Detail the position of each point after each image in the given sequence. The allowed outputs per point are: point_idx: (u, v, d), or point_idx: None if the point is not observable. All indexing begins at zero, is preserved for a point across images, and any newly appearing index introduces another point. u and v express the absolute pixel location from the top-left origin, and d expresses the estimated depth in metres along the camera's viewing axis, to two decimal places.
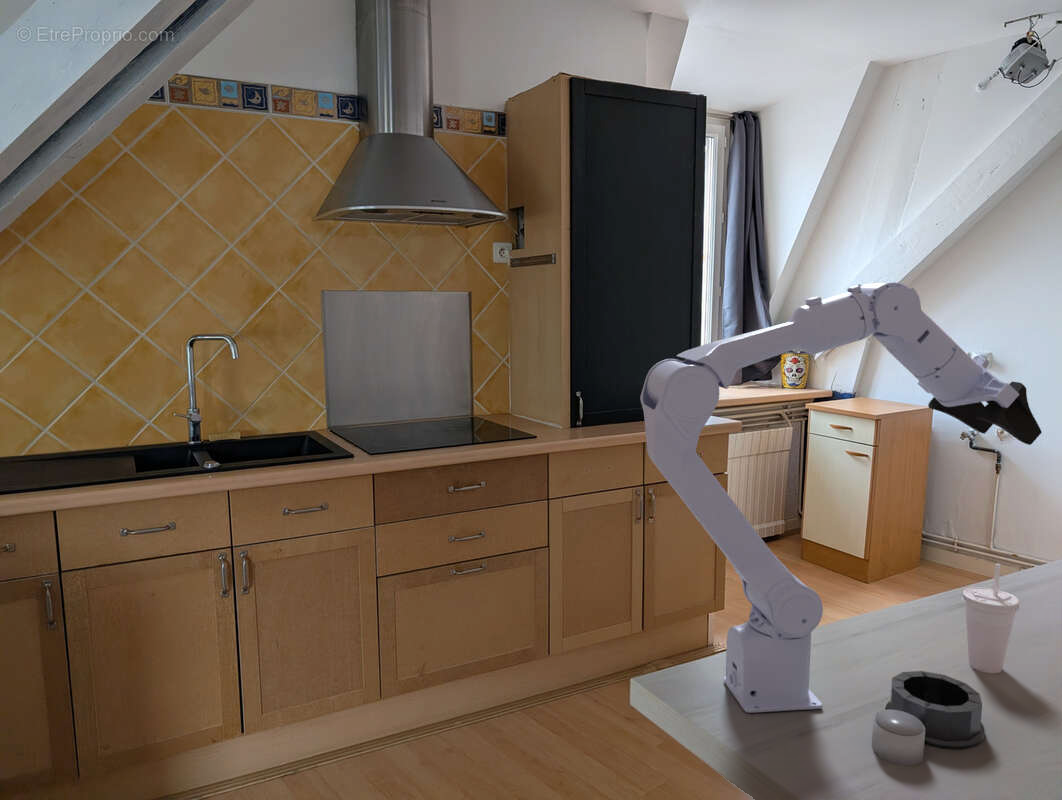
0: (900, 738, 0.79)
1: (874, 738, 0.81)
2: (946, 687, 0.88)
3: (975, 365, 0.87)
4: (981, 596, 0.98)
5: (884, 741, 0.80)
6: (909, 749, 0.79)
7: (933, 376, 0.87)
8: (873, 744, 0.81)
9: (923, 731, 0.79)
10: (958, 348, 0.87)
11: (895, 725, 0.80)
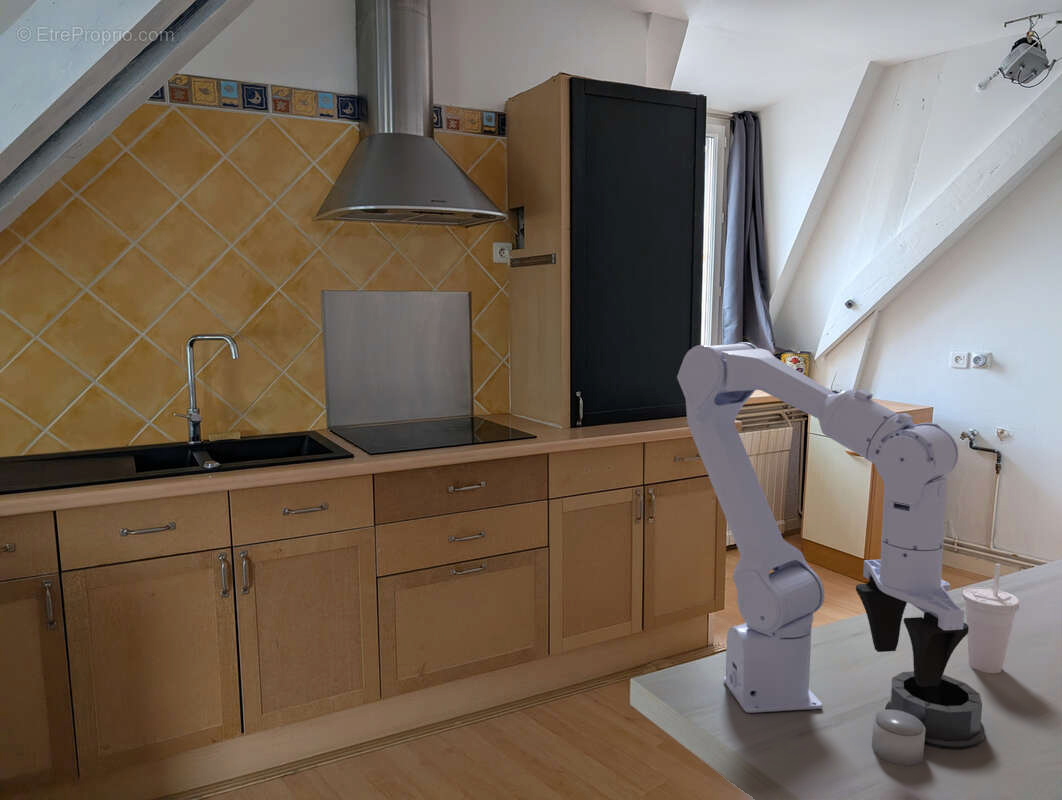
0: (900, 738, 0.79)
1: (874, 738, 0.81)
2: (946, 687, 0.88)
3: (940, 578, 0.77)
4: (981, 596, 0.98)
5: (884, 741, 0.80)
6: (909, 749, 0.79)
7: (902, 552, 0.76)
8: (873, 744, 0.81)
9: (923, 731, 0.79)
10: (942, 550, 0.77)
11: (895, 725, 0.80)
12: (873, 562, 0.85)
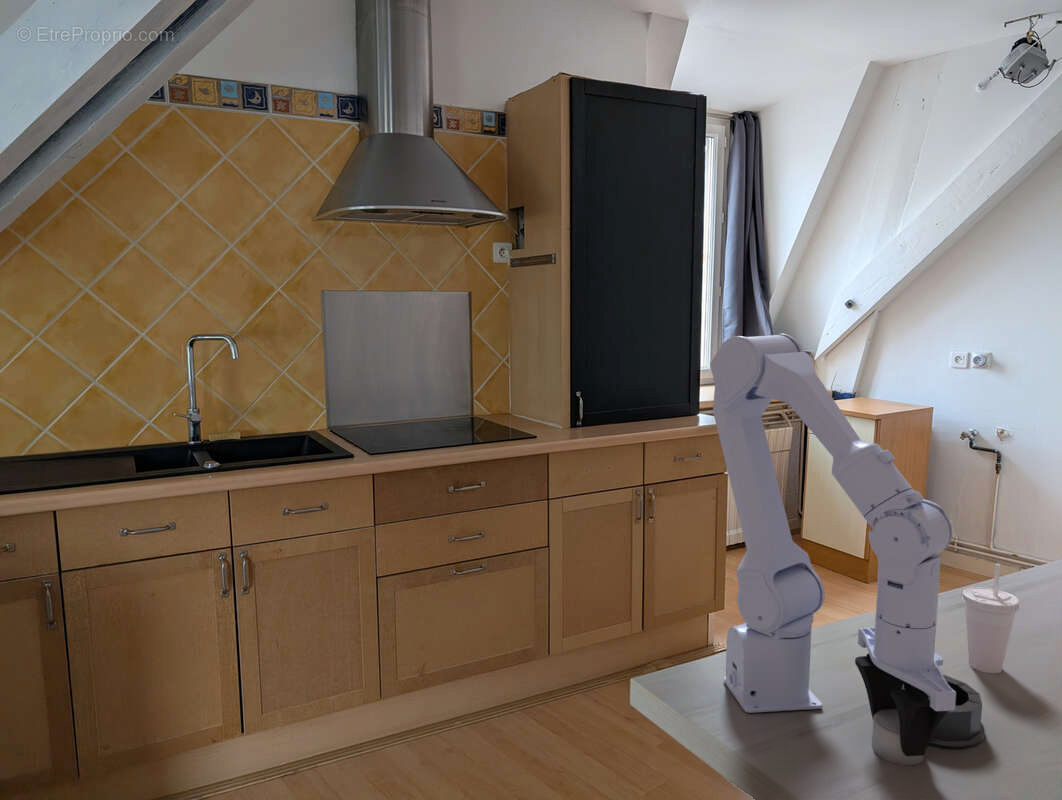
0: None
1: (874, 737, 0.81)
2: None
3: (933, 654, 0.78)
4: (981, 596, 0.98)
5: (884, 740, 0.80)
6: None
7: (895, 629, 0.77)
8: (873, 743, 0.81)
9: None
10: (935, 627, 0.78)
11: (895, 724, 0.80)
12: (868, 630, 0.86)
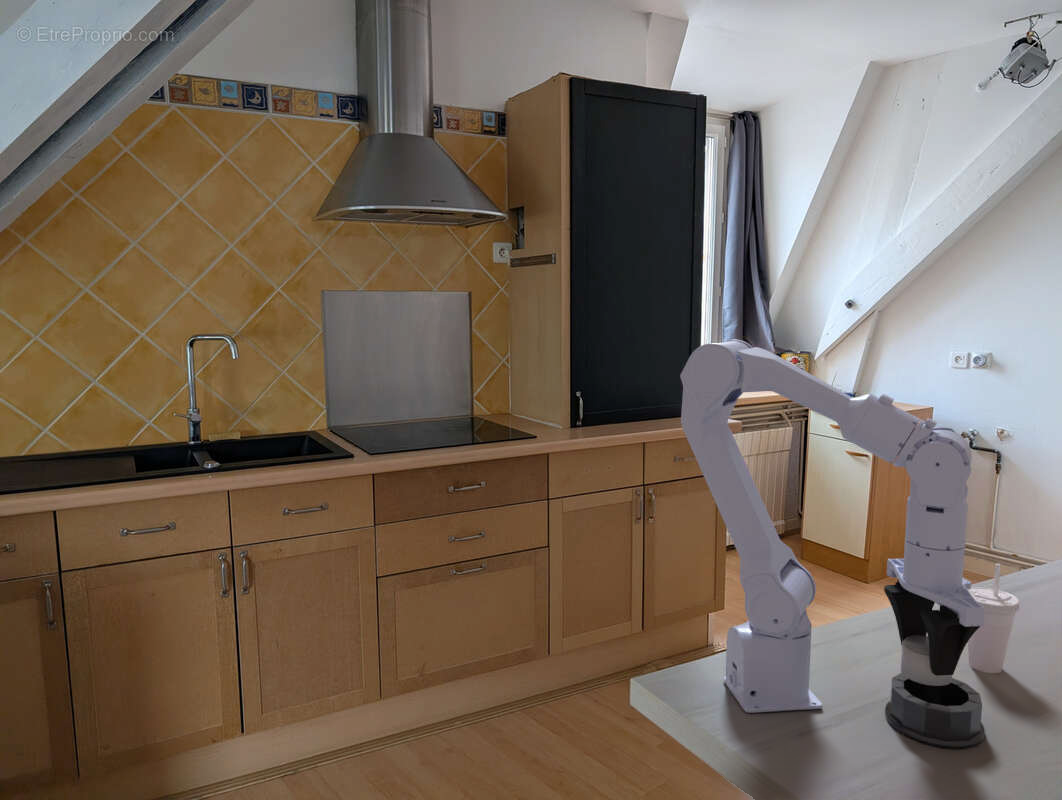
0: (929, 658, 0.81)
1: (903, 661, 0.83)
2: (946, 687, 0.88)
3: (962, 577, 0.80)
4: (981, 596, 0.98)
5: (914, 662, 0.82)
6: None
7: (925, 551, 0.80)
8: (902, 667, 0.84)
9: None
10: (964, 550, 0.80)
11: (924, 647, 0.82)
12: (896, 561, 0.89)
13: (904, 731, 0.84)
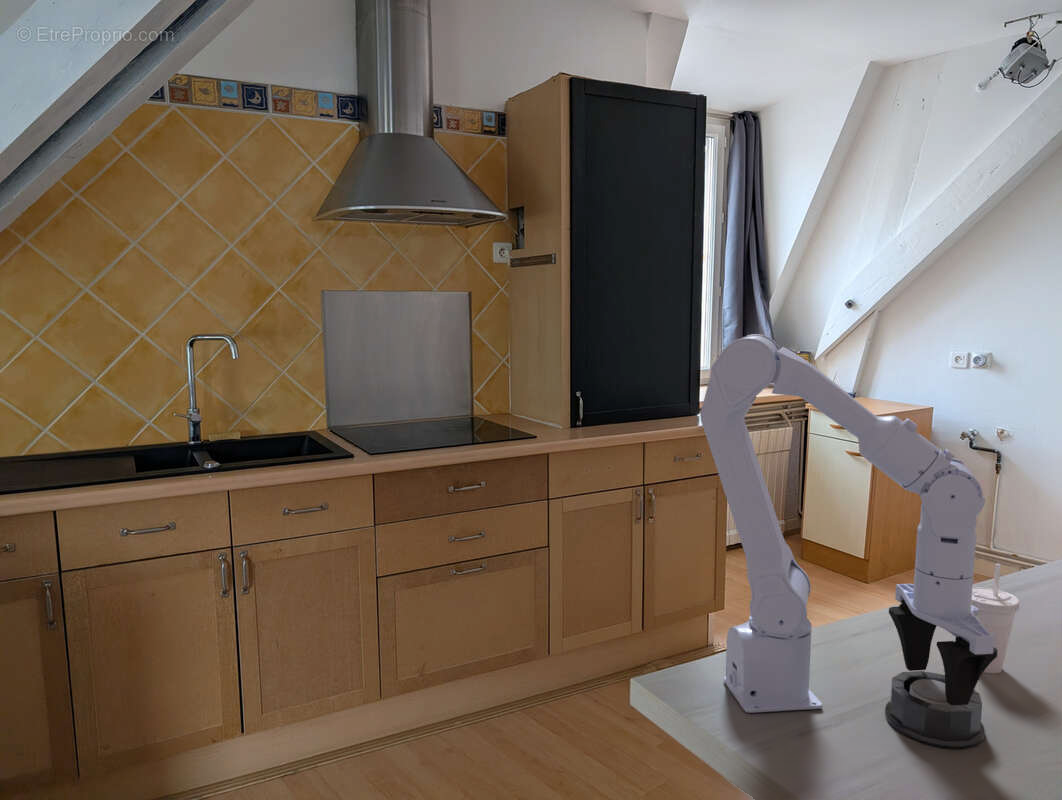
0: None
1: None
2: None
3: (970, 604, 0.82)
4: (981, 596, 0.98)
5: None
6: None
7: (935, 580, 0.82)
8: None
9: None
10: (972, 578, 0.82)
11: (932, 693, 0.85)
12: (905, 586, 0.91)
13: (904, 731, 0.84)
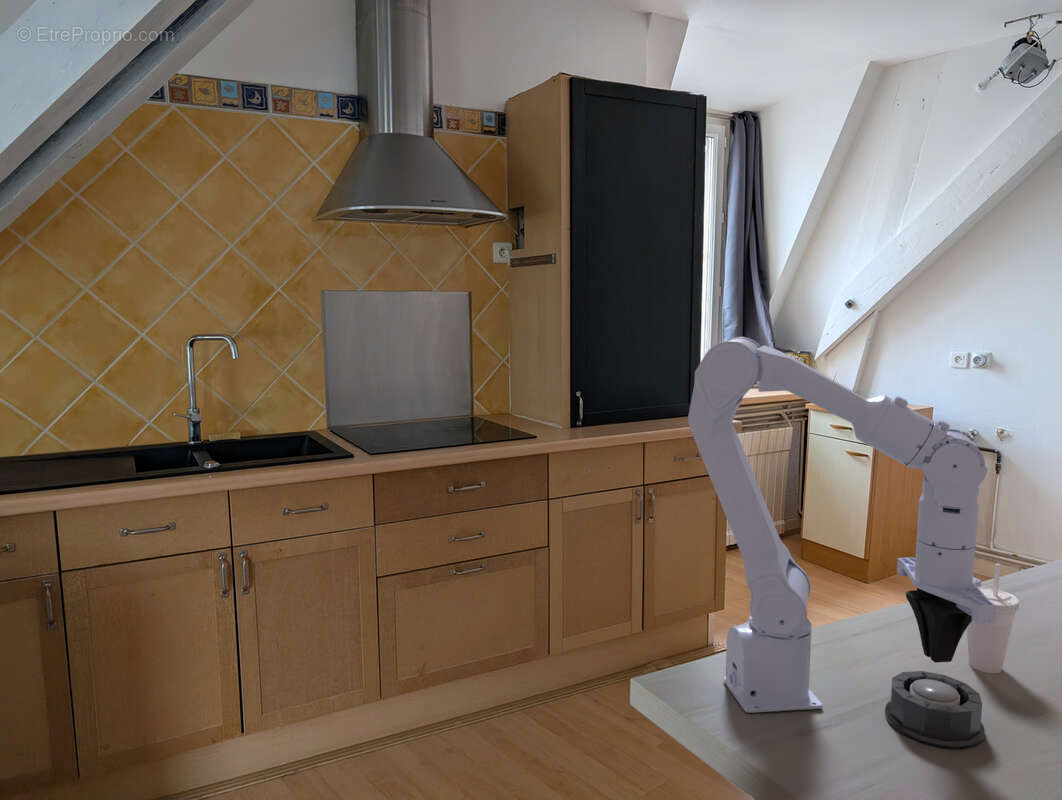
0: (937, 704, 0.84)
1: None
2: None
3: (972, 575, 0.82)
4: None
5: None
6: None
7: (937, 551, 0.81)
8: None
9: (958, 698, 0.84)
10: (974, 549, 0.82)
11: (932, 693, 0.85)
12: (906, 560, 0.91)
13: (904, 731, 0.84)
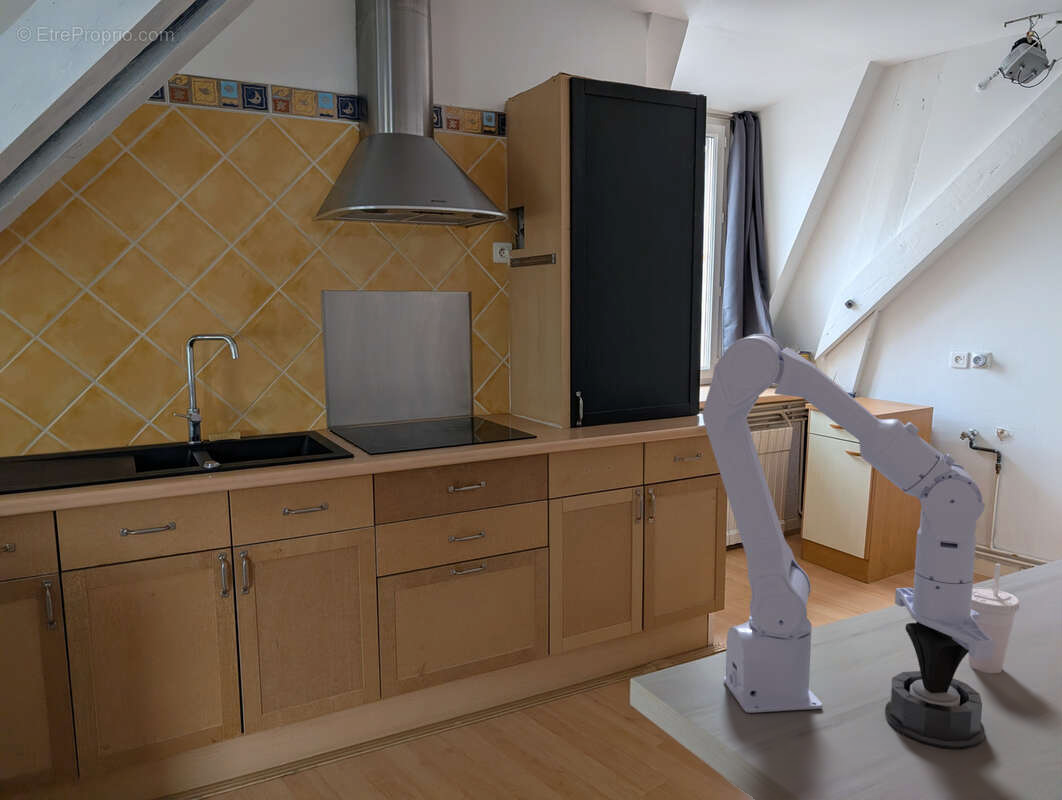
0: None
1: None
2: None
3: (970, 609, 0.83)
4: (981, 596, 0.98)
5: None
6: None
7: (935, 584, 0.82)
8: None
9: (958, 698, 0.84)
10: (972, 583, 0.82)
11: (932, 693, 0.85)
12: (904, 590, 0.91)
13: (904, 731, 0.84)
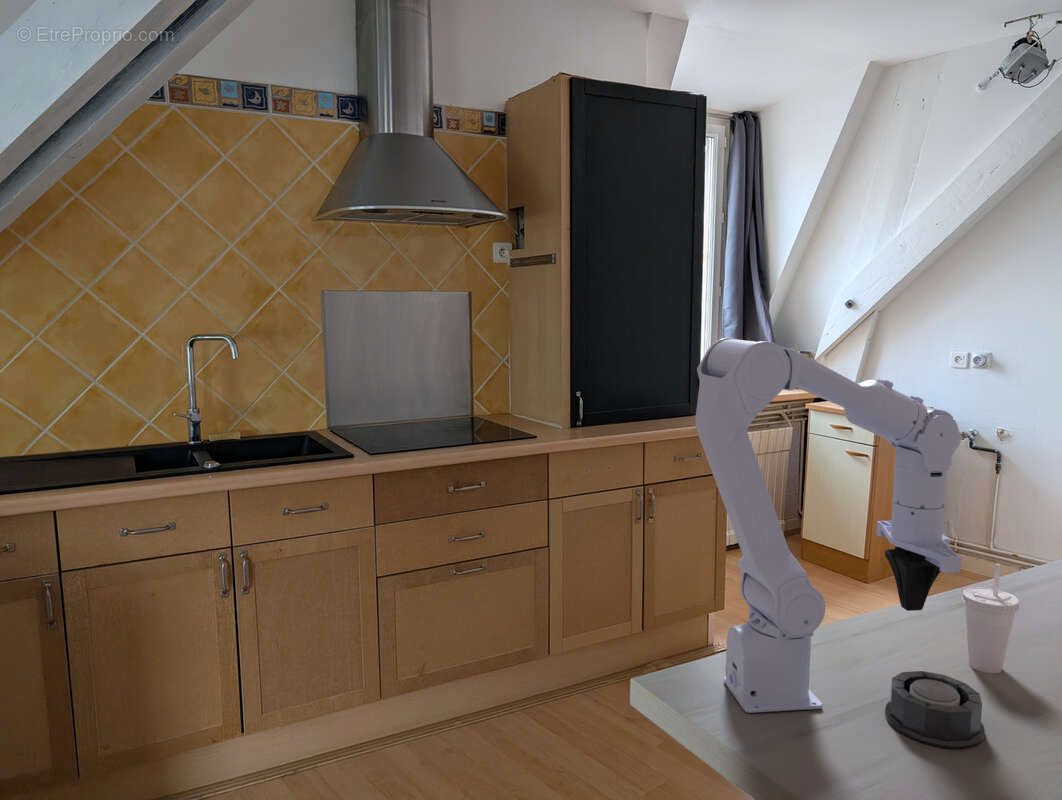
0: (937, 704, 0.84)
1: None
2: None
3: (942, 533, 0.92)
4: (981, 596, 0.98)
5: None
6: None
7: (910, 510, 0.91)
8: None
9: (958, 698, 0.84)
10: (943, 509, 0.92)
11: (932, 693, 0.85)
12: (885, 522, 1.01)
13: (904, 731, 0.84)
